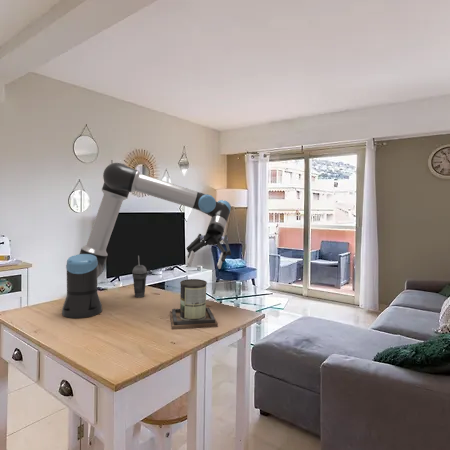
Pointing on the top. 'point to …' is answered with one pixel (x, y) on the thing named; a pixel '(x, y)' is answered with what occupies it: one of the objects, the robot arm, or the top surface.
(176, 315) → the walnut board
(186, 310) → the coffee can
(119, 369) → the top surface
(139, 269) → the beverage cup
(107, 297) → the top surface
